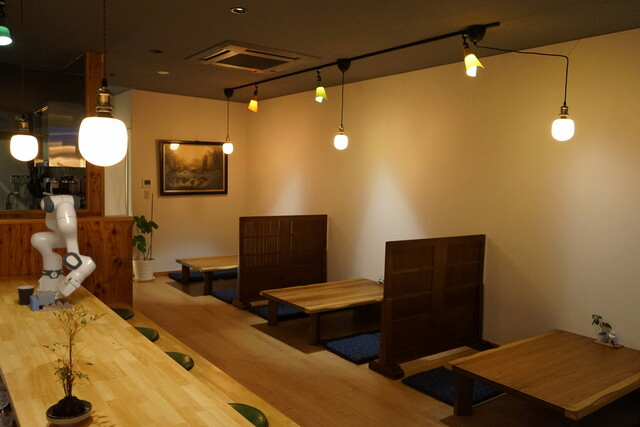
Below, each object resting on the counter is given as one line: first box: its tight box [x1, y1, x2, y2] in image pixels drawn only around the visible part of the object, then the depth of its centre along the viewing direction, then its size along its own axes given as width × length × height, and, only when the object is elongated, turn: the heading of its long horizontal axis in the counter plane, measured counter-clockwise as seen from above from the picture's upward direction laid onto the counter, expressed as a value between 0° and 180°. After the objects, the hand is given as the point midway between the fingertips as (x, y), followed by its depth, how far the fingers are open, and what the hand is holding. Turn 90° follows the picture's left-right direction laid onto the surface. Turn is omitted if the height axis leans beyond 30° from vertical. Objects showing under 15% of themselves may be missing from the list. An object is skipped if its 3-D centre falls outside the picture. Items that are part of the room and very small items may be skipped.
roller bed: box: [41, 297, 73, 312], centre depth 294 cm, size 18×15×3 cm
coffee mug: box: [17, 285, 35, 306], centre depth 297 cm, size 12×9×10 cm
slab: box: [35, 290, 55, 307], centre depth 290 cm, size 12×8×5 cm, turn 36°
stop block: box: [29, 294, 40, 312], centre depth 287 cm, size 14×3×6 cm, turn 36°
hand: (54, 298), depth 293 cm, fingers closed
